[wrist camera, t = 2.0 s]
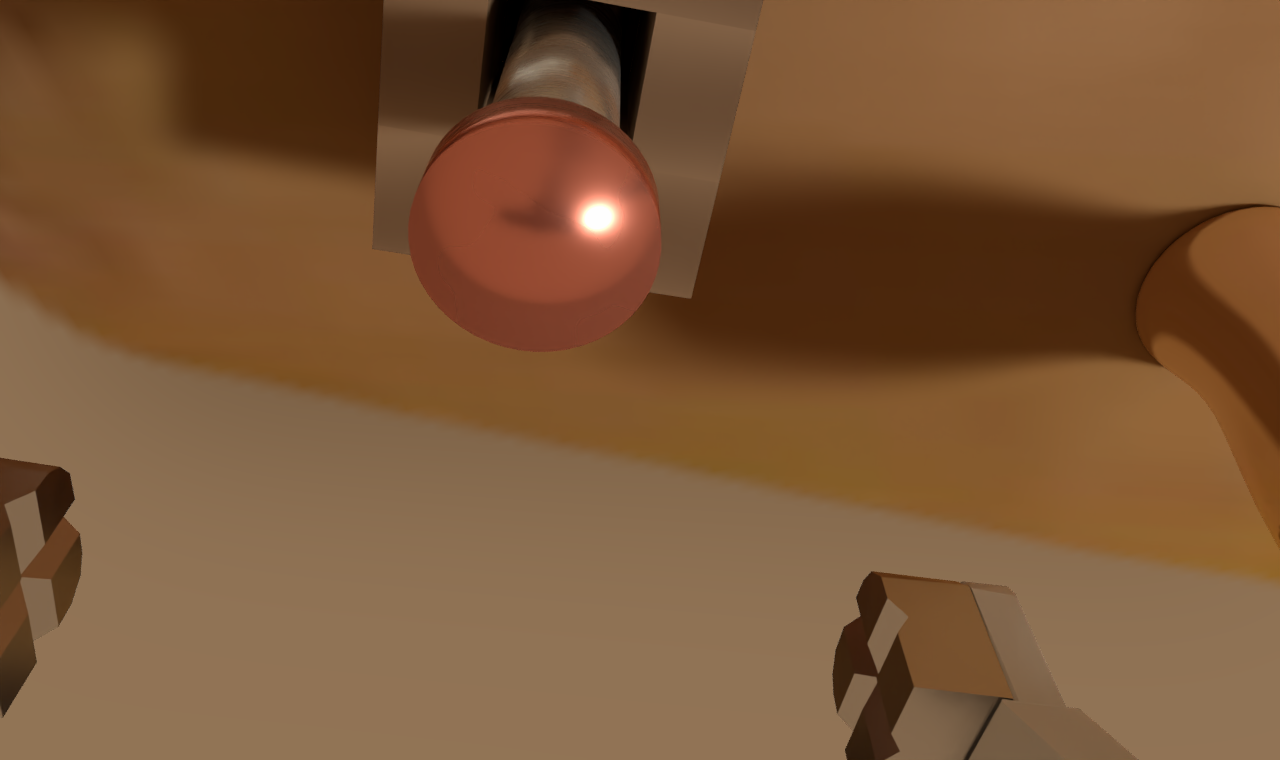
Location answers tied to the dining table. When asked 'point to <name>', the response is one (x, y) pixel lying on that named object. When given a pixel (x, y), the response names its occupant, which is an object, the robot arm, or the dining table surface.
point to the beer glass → (1226, 335)
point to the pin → (542, 193)
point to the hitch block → (649, 106)
